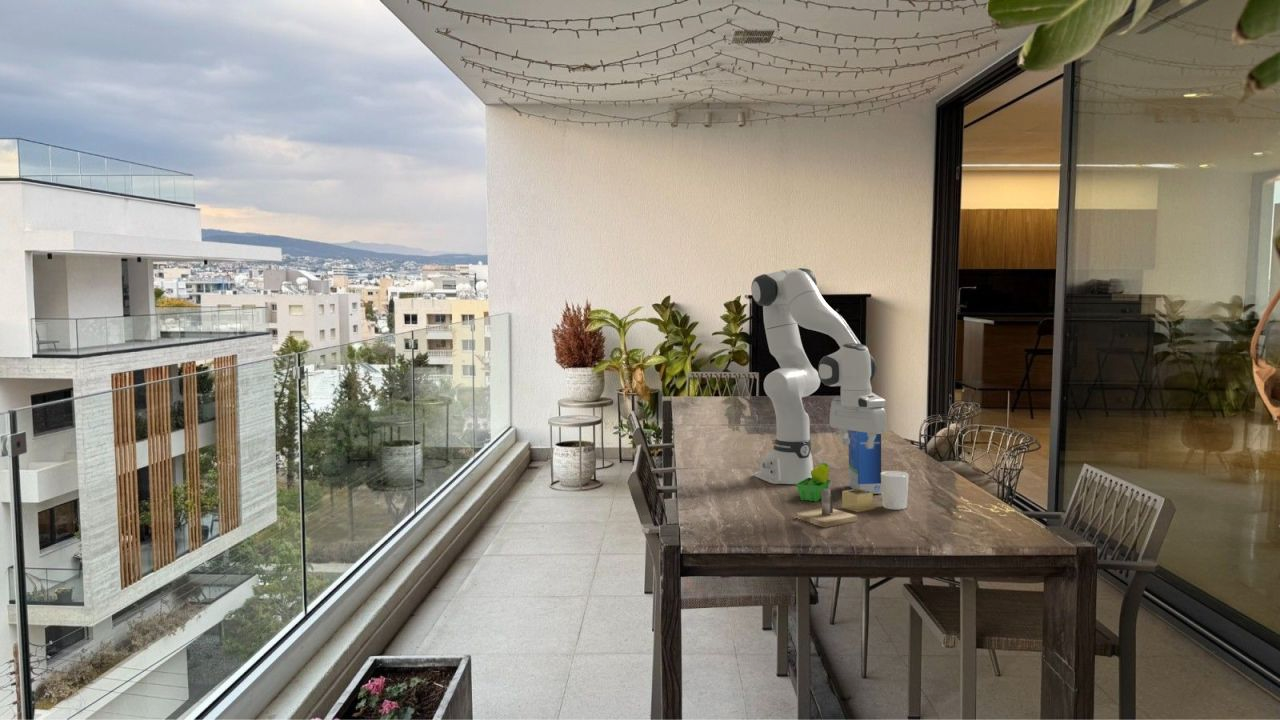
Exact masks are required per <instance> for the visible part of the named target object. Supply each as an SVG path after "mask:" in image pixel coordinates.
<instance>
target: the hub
mask: <svg viewBox="0 0 1280 720" xmlns="http://www.w3.org/2000/svg"><path fill="white" fill-rule="evenodd" d="M841 499H842V500H841V503H842V504H841V507H842V509H845V510H849V511H852V512H856V513H859V512H866V511H870V510H873V509H874V494H873V492H870V491H866V490H862V489H858V488H857V489H853V488H851V489H847V490H842V491H841Z"/></svg>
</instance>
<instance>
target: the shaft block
mask: <svg viewBox="0 0 1280 720" xmlns="http://www.w3.org/2000/svg"><path fill="white" fill-rule="evenodd" d="M833 499H834V498H833V494H831V489H830V488H828V489H822V498H821V507H820V508H816V509H810V510H804V511H800V512H795V519H796V518H798V519H797V520H799V519H801V520H800V521H802V520H804V521H803V522H805V521H807V522H806V523H809V522H810V523H809V524H812V523H813V524H812V525H816V526H819V527H822V528H830V527H834V526H835V527H836V526H840V525H844V524H850V523H855V522H858V515H856V514H853V513H850V512H846V511H843V510H840V509H835V508H834V506H833Z"/></svg>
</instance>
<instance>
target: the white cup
mask: <svg viewBox="0 0 1280 720" xmlns="http://www.w3.org/2000/svg"><path fill="white" fill-rule="evenodd" d="M881 490H882V494H881V498H882V507H883V508H884V509H887V510H892V511H893V510H905V509H907V505H908V493H909V473H908V472H906V471H900V470H886V471H885V470H884V471H881Z"/></svg>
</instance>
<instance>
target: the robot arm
mask: <svg viewBox="0 0 1280 720" xmlns="http://www.w3.org/2000/svg"><path fill="white" fill-rule="evenodd" d="M817 284H818V283H817V278H816V276H815V274H814V273H813V271H812V270H811V269H809V268H797V269H796V268H795V269H793V268H791V269H782V270H780V271H774V272H769V273H766V274H765V273H763V274H760V275H757V276H756V277H754V279H753V280H752V282H751V287H750V289H751V295H752V296H751V297H752V298H753V301H754V302H755V303H756V304H757V305H758V306H761V307H762V311H763V312H762V314H763V325H764V326H763V327H764V330H765V336H766V341H767V345H768V349H769V351H768V352H769V353H770V354H771V356H773V357H774V358H775V360H776V362H777V363H778V365H779V368H777V369H774V370H773V371H771V372H770V373H768V374H767V375H766V376H765V378H764V381H763V390H764V392H765V394H766V396H767V397H768V398H769V399H770V401H771V402H772V405H773V409H774V412H775V420H776V421H775V422H776V439H772V440H771V444H774V445H773V447H772V448H773V449H772V450H771V451H769V453H768V454H766V455H764V457H763V458H762V459H761V461H760V469H759V470H758V471H756V472H754V473H753V476H754V477H755V478H757V479H759V480H763V481H765V482H766V483H767V482H768V483H770V484H772V485H784V484H785V485H796V484H797V483H799V482H801V481H803V480H805V479H806V478H812V476H811V471H812V470H813V469H814V463H813V455H812V453H811V450H812V440H811V437H810V431H811V430H810V429H811V427H810V425H811V424H810V417H809V416H810V415H809V414H808V413H807V412H806V410H805V408H804V404H803V400H802V399H803V398H806V397H808V396H810V395H812V394H813V393H815V392H816V391H817V390H818V389H819V388H820V385H821V383H822V384H824V386H828V387H840V397H839V396H835V397H834V398H833V399H832V400H831V402H830V403H831V406H830V409H829V426H830V428H832V429H838V432H839V433H838V434H839V435H840V438H841V440H842V441H841V443H842V445H846V446H847V445H849V444H850V438H848V434H847V433H848V430H851V431H858V432H865V433H867V436H868V437H869V438H868V441H867V442H865V447H866V448H869V449H870V448H873V442H874V440H875V438H876V434H881V435H882V434H885V433H886V432H887V429H888V422H887V419H888V418H887V412H886V409H885V406H886V399H884V397H881V396H879V395H877V394H875V392H872V390H873V388H872V384H871V383H872V382H873V380H874V379H875V377H876V375H877V371H878V366H877V365H878V364H877V362H876V359H874V357H873V355H872V354H871V353H870V351H869V348H868V346H866V345H865V344H862V343H861V342H860V340H859V339H858V337H857V335H855V334H856V333H854V331H853V330H852V328H851V327H850V326H849V324H848V323H847V321H846V319H844V317H843V316H842V315H841V314H840V313H838V312H837V311H835V310H834V308H832V307H831V306H830V305H829V304H828V302H826V299H824V297H823V296H822V293H821V292H820V289H819V287H818V286H817ZM799 327H802V328H804V329H807V330H810V331H811V330H812V331H816V332H819V333H822V334H825V335H828V336H829V337H830V338H832V339H834V340H835V342H836V343H837V344H838V345H837V346H839V349H837V351H835V352H832V353H830V354H828V355H824V356H823V357H822V358H821V359H820V360H819V363H818V365H817V369H816V368H815V367H813V365H812V364H811V362H810V360H809V358H808V356H807V354H806V352H805V349H804V346H803V343H802V339H801V335H800V329H799Z"/></svg>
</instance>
